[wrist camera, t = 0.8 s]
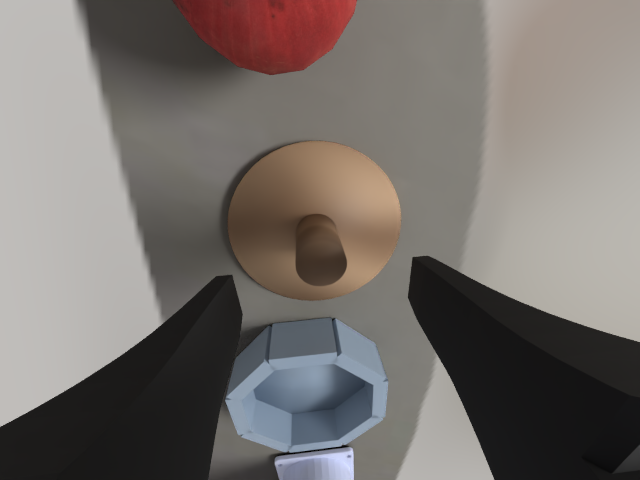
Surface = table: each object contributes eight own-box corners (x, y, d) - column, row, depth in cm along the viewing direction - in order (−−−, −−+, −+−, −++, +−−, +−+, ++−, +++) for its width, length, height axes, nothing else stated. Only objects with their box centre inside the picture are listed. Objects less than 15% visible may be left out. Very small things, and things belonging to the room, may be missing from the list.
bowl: (373, 403, 24) (382, 441, 21) (252, 418, 23) (247, 458, 21) (377, 312, 19) (391, 346, 16) (224, 328, 18) (212, 366, 16)
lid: (391, 285, 18) (416, 332, 15) (248, 299, 18) (235, 351, 14) (402, 132, 14) (443, 142, 10) (211, 147, 13) (177, 163, 10)
